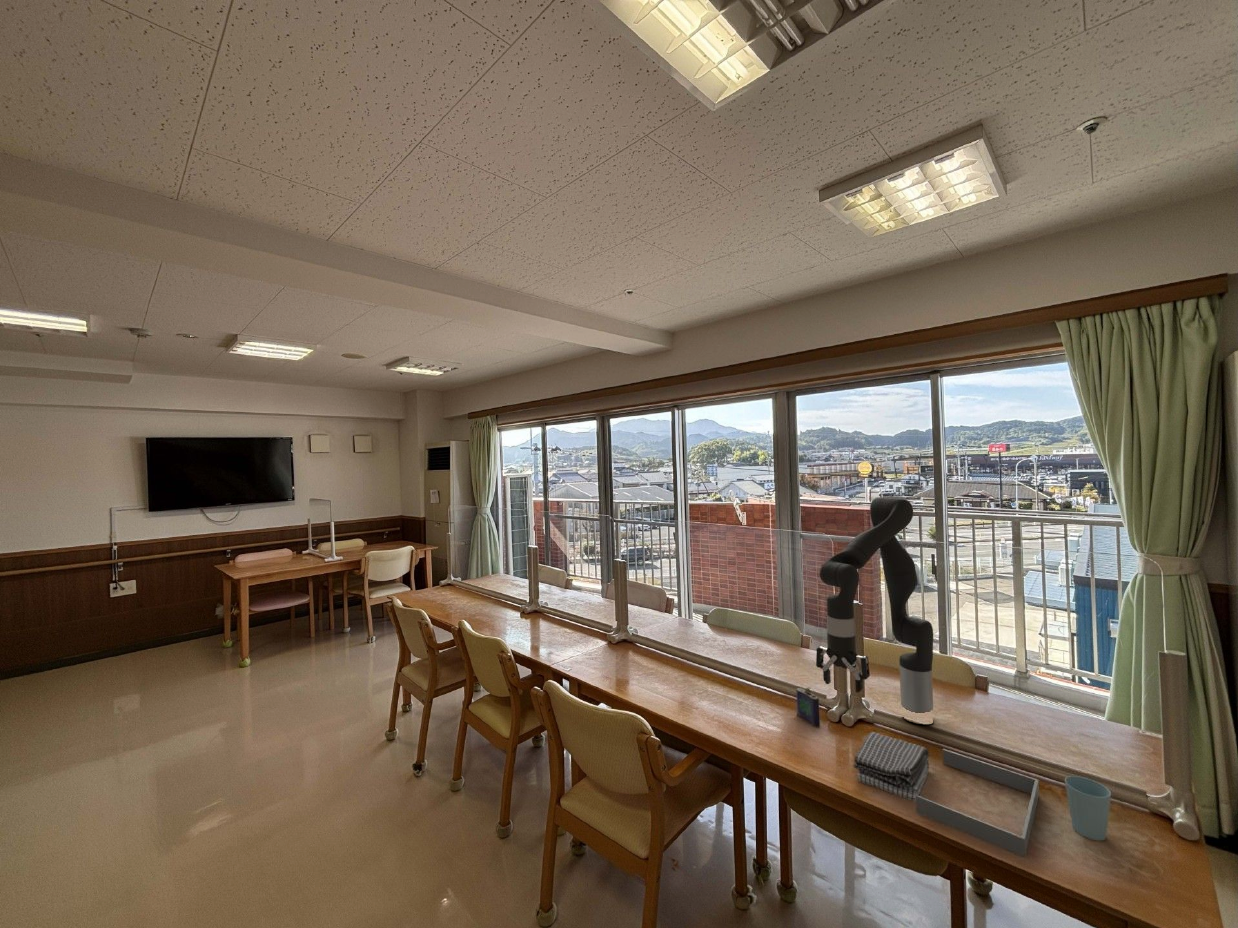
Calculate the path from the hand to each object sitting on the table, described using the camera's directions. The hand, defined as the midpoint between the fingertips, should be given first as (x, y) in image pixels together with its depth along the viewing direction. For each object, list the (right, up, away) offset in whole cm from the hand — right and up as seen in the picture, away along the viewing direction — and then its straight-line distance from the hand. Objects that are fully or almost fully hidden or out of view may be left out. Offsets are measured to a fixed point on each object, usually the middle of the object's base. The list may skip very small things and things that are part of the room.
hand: (842, 687), depth 144 cm
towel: (+9, -20, -9) cm, 24 cm away
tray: (+24, -19, -21) cm, 37 cm away
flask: (-2, -21, +21) cm, 30 cm away
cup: (+42, -19, -31) cm, 56 cm away
